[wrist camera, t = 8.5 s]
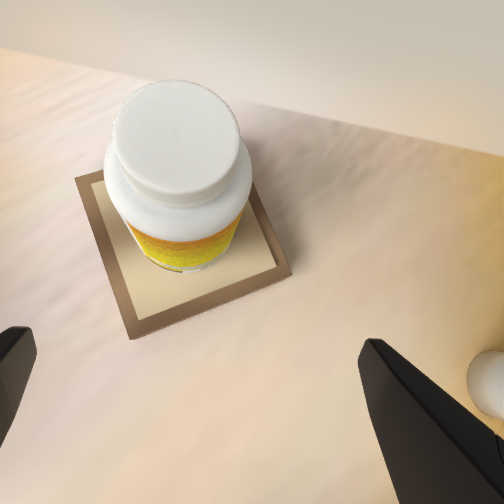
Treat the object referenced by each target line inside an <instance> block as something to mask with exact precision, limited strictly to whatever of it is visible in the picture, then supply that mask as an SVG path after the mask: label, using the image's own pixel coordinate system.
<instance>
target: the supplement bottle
mask: <svg viewBox="0 0 504 504" xmlns="http://www.w3.org/2000/svg"><path fill="white" fill-rule="evenodd" d="M252 176H253V175H252V163H251V158H250V155H249V152H248V149H247V147H246V145H245V143H244V141H243V139H242V138H241V136H240V131H239V127H238V123H237V121H236V118H235V116H234V114H233V112H232V111H231V109H230V108H229V106H228V105H227V104H226V103H225V102H224V101H223V100H222V99H221V98H220V97H219V96H218V95H217V94H215V93H214V92H213V91H211V90H209V89H207V88H205V87H203V86H201V85H199V84H196V83H192V82H188V81H181V80H165V81H158V82H155V83H151V84H148V85H146V86H144V87H142V88H140V89H138V90H137V91H135V92H134V93H133V94H131V95H130V96H129V97H128V98H127V99H126V100H125V101H124V103H123V104H122V106H121V107H120V109H119V110H118V113H117V115H116V117H115V121H114V125H113V137H112V139H111V140H110V143H109V145H108V148H107V150H106V154H105V159H104V181H105V185H106V189H107V191H108V194H109V197H110V200H111V201H112V203H113V205H114V206H115V208H116V210H117V211H118V213H119V214H120V216H121V218H122V219H123V221H124V223H125V224H126V226H127V228H128V229H129V231H130V233H131V234H132V236H133V237H134V239H135V241H136V242H137V244H138V245H139V247H140V249H141V250H142V252H143V253H144V254H145V255H146V257H147V258H148V259H149V260H150V261H152V262H153V263H154V264H156V265H157V266H159V267H161V268H163V269H165V270H168V271H171V272H175V273H193V272H198V271H201V270H204V269H206V268H208V267H210V266H211V265H213V264H214V263H216V262H217V261H218V260H219V259H220V258H221V257H222V256H223V255H224V253H225V252H226V250H227V249H228V247H229V245H230V243H231V240H232V238H233V235H234V233H235V230H236V227H237V225H238V223H239V220H240V218H241V215H242V212H243V210H244V207H245V205H246V202H247V200H248V197H249V194H250V190H251V185H252Z"/></svg>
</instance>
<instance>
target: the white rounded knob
mask: <svg viewBox="0 0 504 504" xmlns="http://www.w3.org/2000/svg"><path fill="white" fill-rule="evenodd" d="M467 388H468V392H469V395H470V397H471V399H472V401H473V403H474V404H475V406H476V407H477V408H478V409H479V410H480V411H481V412H482V413H484V414H485V415H487V416H489V417H492V418H495V419H498V420H502V421H504V352H500V351H486V352H483V353H481V354H479V355H477V356H476V357H475V358H474V359H473V361H472V362H471V364H470V366H469V368H468V372H467Z"/></svg>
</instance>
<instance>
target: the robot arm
mask: <svg viewBox="0 0 504 504" xmlns="http://www.w3.org/2000/svg"><path fill="white" fill-rule="evenodd" d="M36 355H37V349H36V345H35V341H34V337H33V333H32V330H31V328H29V327H23V326H13V327H10V328H8V329H6V330H5V331H3V332H2V333H0V447H1V445H2V443H3V441H4V439H5V437H6V435H7V433H8V431H9V429H10V427H11V424H12V422H13V420H14V418H15V415H16V413H17V410H18V408H19V405H20V402H21V399H22V396H23V393H24V391H25V388H26V385H27V382H28V379H29V376H30V374H31V371H32V368H33V365H34V362H35V359H36ZM358 368H359V372H360V377H361V381H362V385H363V390H364V394H365V398H366V403H367V407H368V411H369V415H370V418H371V421H372V425H373V428H374V431H375V433H376V436H377V439H378V442H379V445H380V448H381V451H382V454H383V457H384V460H385V463H386V466H387V469H388V471H389V474H390V477H391V480H392V483H393V486H394V489H395V492H396V495H397V498H398V501H399V504H504V440H503V439H502V438H501V437H500V436H499V435H497V434H495V433H494V431H492V430H491V429H490V428H489V427H488V426H486V425H485V424H484V423H483V422H481V421H480V420H479V419H478V418H477V417H475V416H474V415H473V414H472V413H471V412H469V411H468V410H467V409H466V408H465V407H463V406H462V405H461V404H460V403H458V402H457V401H456V400H455V399H454V398H452V397H451V396H450V395H449V394H448V393H446V392H445V391H444V390H443V389H442V388H440V387H439V386H438V385H437V384H435V383H434V382H433V381H432V380H431V379H429V378H428V377H427V376H426V375H425V374H423V373H422V372H421V371H420V370H419V369H417V368H416V367H415V366H414V365H412V364H411V363H410V362H409V361H408V360H406V359H405V358H404V357H403V356H402V355H400V354H399V353H398V352H397V351H396V350H394V349H393V348H392V347H391V346H389V345H388V344H387V343H386V342H385V341H383V340H382V339H374V338H369V339H367V340H366V341H365V343H364V345H363V348H362V350H361V352H360V355H359V357H358Z"/></svg>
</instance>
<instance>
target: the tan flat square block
mask: <svg viewBox="0 0 504 504" xmlns="http://www.w3.org/2000/svg"><path fill="white" fill-rule="evenodd" d="M74 179H75V182H76V185H77V187H78V190H79V193H80V196H81V199H82V202H83V205H84V208H85V211H86V214H87V217H88V220H89V222H90V225H91V228H92V231H93V234H94V237H95V240H96V243H97V246H98V249H99V252H100V255H101V257H102V260H103V263H104V266H105V269H106V272H107V275H108V278H109V281H110V284H111V287H112V290H113V292H114V295H115V298H116V301H117V304H118V307H119V310H120V313H121V316H122V319H123V322H124V324H125V327H126V330H127V333H128V336H129V339H130V340H135V339H138V338H140V337H143V336H145V335H148V334H150V333H153V332H155V331H158V330H160V329H163V328H165V327H168V326H170V325H173V324H175V323H178V322H180V321H183V320H185V319H188V318H190V317H193V316H195V315H198V314H200V313H203V312H205V311H208V310H210V309H213V308H215V307H218V306H220V305H223V304H225V303H228V302H230V301H232V300H235V299H237V298H240V297H242V296H245V295H247V294H250V293H252V292H255V291H257V290H260V289H262V288H265V287H267V286H270V285H272V284H275V283H277V282H280V281H282V280H285V279H286V278H288V277H290V276H291V275H292V273H291V270H290V268H289V266H288V263H287V261H286V259H285V256H284V254H283V252H282V249H281V247H280V245H279V242H278V240H277V238H276V235H275V233H274V231H273V228H272V226H271V224H270V221H269V219H268V217H267V214H266V212H265V210H264V207H263V205H262V203H261V200H260V198H259V196H258V193H257V191H256V189H255V186H254V184H253V181H252V185H251V190H250V194H249V197H248V200H247V202H246V205H245V207H244V210H243V212H242V215H241V218H240V220H239V223H238V225H237V227H236V230H235V233H234V235H233V238H232V240H231V243H230V245H229V247H228V249H227V250H226V252H225V253H224V255H223V256H222V257H221V258H220V259H219V260H218V261H217V262H216V263H214V264H213V265H211V266H210V267H208V268H206V269H204V270H201V271H198V272H193V273H175V272H171V271H168V270H165V269H163V268H161V267H159V266H157V265H156V264H154V263H153V262H152V261H150V260H149V259H148V258H147V257H146V255H145V254H144V253H143V252H142V250H141V249H140V247H139V245H138V244H137V242H136V241H135V239H134V237H133V236H132V234H131V233H130V231H129V229H128V228H127V226H126V224H125V223H124V221H123V219H122V218H121V216H120V214H119V213H118V211H117V210H116V208H115V206H114V205H113V203H112V201H111V200H110V197H109V194H108V191H107V189H106V185H105V181H104V170H101V171H97V172H94V173H90V174H87V175H83V176H80V177H76V178H74Z"/></svg>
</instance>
